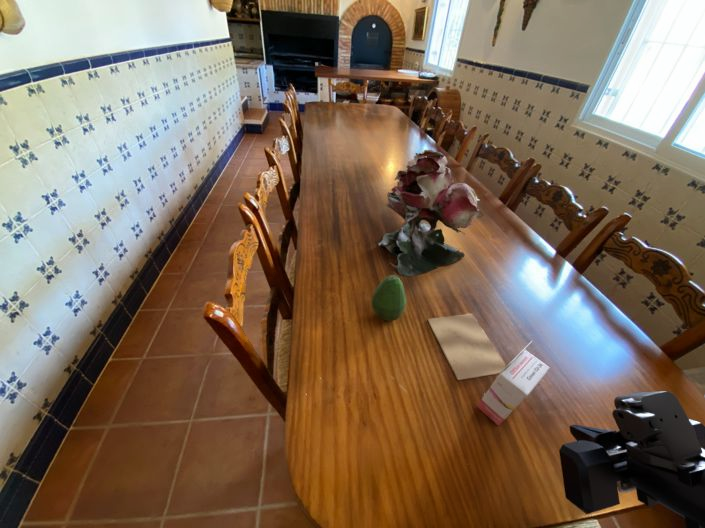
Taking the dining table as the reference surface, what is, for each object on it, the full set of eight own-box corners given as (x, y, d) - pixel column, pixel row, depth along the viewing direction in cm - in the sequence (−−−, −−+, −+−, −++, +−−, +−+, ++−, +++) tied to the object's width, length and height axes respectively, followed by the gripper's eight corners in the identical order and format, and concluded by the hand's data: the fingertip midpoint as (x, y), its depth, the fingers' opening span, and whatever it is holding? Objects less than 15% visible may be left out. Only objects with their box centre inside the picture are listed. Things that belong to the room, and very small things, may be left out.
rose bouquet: (477, 254, 94) (516, 161, 75) (404, 282, 82) (429, 179, 63) (424, 216, 111) (445, 132, 92) (357, 234, 98) (365, 142, 79)
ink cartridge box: (499, 428, 54) (536, 387, 44) (475, 406, 56) (505, 363, 47) (521, 399, 58) (560, 356, 49) (498, 380, 61) (530, 336, 51)
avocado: (395, 301, 76) (403, 265, 69) (406, 325, 70) (417, 289, 63) (365, 305, 74) (370, 269, 67) (374, 330, 69) (381, 294, 61)
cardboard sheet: (509, 372, 62) (510, 371, 62) (457, 381, 60) (458, 379, 60) (471, 314, 74) (471, 313, 74) (427, 320, 72) (427, 318, 72)
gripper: (784, 398, 29) (615, 361, 44) (633, 434, 25) (506, 380, 41) (807, 517, 28) (628, 438, 43) (655, 572, 25) (517, 465, 40)
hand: (572, 428), depth 42 cm, fingers closed
